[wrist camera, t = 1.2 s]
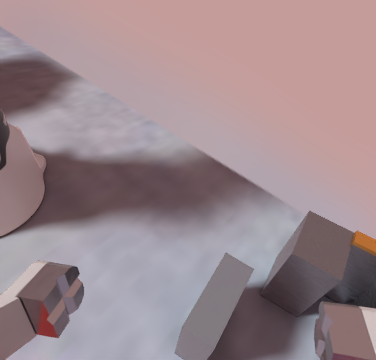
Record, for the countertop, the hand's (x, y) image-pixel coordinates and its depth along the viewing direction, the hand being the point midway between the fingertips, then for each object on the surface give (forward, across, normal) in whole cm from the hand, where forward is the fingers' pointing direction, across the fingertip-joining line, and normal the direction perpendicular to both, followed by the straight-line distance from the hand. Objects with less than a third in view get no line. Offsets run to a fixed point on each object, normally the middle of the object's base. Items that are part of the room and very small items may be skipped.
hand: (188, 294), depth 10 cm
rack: (+21, -11, +24) cm, 33 cm away
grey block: (+15, +3, +23) cm, 27 cm away
